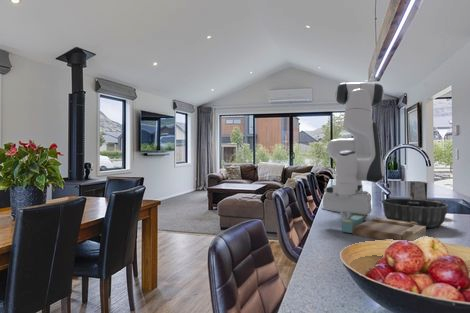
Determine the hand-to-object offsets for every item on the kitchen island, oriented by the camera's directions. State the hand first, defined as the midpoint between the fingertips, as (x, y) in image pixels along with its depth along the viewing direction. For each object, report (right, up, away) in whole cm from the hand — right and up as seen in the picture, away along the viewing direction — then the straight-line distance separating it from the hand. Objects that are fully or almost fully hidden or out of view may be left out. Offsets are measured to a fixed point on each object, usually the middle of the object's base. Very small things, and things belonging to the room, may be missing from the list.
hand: (346, 222), depth 146 cm
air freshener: (+10, -3, +17) cm, 20 cm away
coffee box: (+50, -2, +38) cm, 63 cm away
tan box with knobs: (+14, -3, -11) cm, 18 cm away
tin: (+49, -3, +23) cm, 55 cm away
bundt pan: (+33, -3, +9) cm, 34 cm away
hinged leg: (+2, -2, -2) cm, 4 cm away
